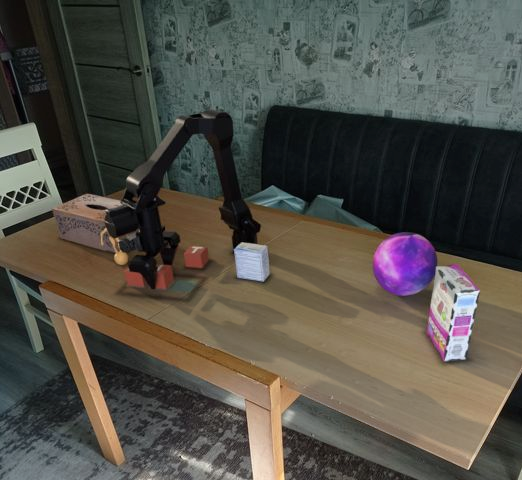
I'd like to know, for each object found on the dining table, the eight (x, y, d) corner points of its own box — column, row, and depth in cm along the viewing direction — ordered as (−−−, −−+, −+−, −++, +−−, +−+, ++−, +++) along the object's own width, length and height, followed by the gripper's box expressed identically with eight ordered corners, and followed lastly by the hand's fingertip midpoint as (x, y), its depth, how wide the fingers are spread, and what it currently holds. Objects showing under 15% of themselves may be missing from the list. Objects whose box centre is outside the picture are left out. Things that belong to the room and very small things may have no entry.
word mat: (204, 277, 145) (204, 276, 145) (187, 300, 136) (187, 298, 135) (139, 271, 150) (139, 270, 150) (118, 293, 141) (117, 291, 141)
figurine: (113, 271, 152) (103, 232, 145) (103, 265, 155) (93, 226, 148) (138, 261, 156) (130, 222, 149) (128, 255, 160) (119, 217, 152)
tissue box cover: (149, 235, 170) (142, 205, 164) (115, 253, 161) (108, 222, 155) (94, 221, 183) (86, 193, 177) (60, 238, 173) (51, 208, 167)
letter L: (152, 278, 146) (149, 263, 143) (144, 287, 142) (140, 271, 139) (136, 276, 147) (132, 261, 144) (127, 285, 143) (123, 270, 141)
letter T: (209, 261, 153) (207, 246, 150) (202, 269, 149) (200, 254, 146) (193, 259, 154) (190, 245, 151) (186, 267, 150) (183, 253, 148)
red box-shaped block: (174, 280, 144) (171, 264, 141) (166, 289, 140) (163, 273, 138) (157, 278, 145) (154, 263, 143) (149, 287, 142) (145, 272, 139)
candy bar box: (467, 360, 109) (481, 290, 99) (443, 362, 109) (455, 293, 99) (447, 329, 118) (458, 262, 108) (425, 332, 118) (434, 265, 108)
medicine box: (270, 274, 144) (268, 245, 139) (263, 282, 141) (261, 252, 135) (244, 270, 147) (241, 241, 142) (236, 278, 143) (233, 248, 138)
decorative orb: (431, 310, 124) (440, 251, 116) (367, 304, 129) (370, 247, 120) (434, 279, 136) (442, 223, 127) (375, 274, 140) (378, 220, 131)
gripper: (138, 209, 142) (149, 262, 151) (102, 239, 128) (117, 295, 137) (176, 211, 139) (185, 265, 148) (143, 242, 125) (156, 299, 134)
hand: (161, 280), depth 142 cm, fingers open, 9 cm apart
